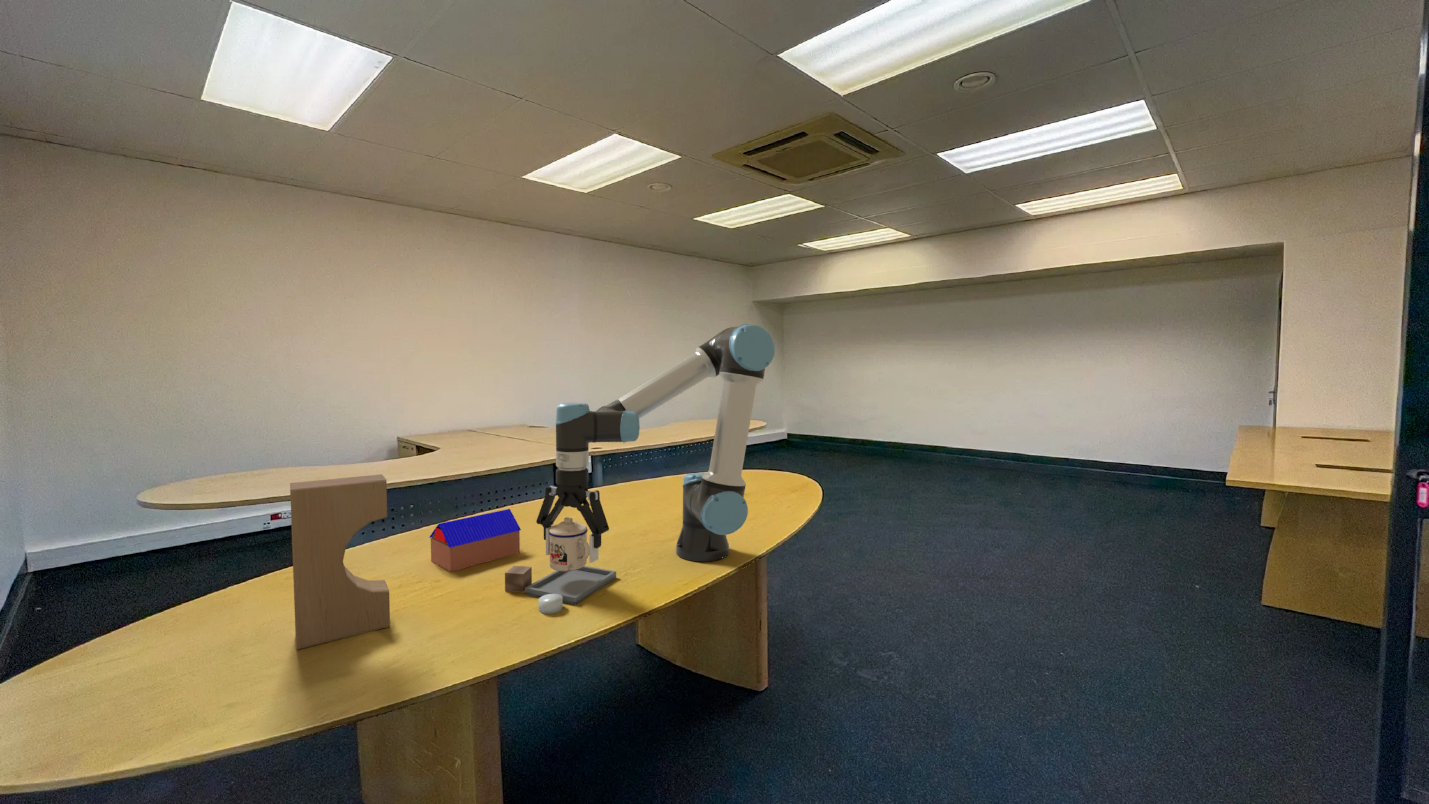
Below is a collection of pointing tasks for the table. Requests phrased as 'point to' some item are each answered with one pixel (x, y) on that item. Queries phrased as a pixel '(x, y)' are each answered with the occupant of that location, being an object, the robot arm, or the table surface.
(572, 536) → the teacup with lid
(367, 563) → the table surface
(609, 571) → the tray
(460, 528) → the house
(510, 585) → the walnut cube
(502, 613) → the table surface
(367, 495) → the decorative block
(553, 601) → the white egg-shaped dome
